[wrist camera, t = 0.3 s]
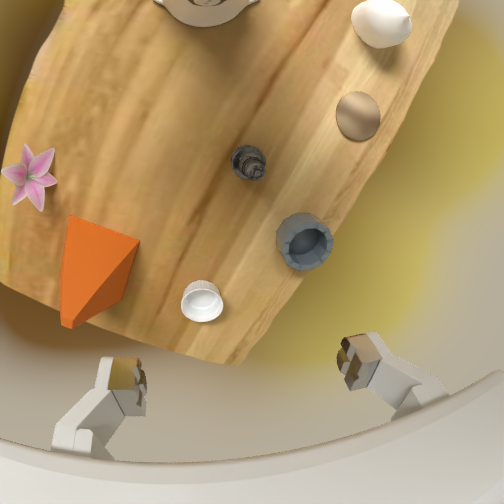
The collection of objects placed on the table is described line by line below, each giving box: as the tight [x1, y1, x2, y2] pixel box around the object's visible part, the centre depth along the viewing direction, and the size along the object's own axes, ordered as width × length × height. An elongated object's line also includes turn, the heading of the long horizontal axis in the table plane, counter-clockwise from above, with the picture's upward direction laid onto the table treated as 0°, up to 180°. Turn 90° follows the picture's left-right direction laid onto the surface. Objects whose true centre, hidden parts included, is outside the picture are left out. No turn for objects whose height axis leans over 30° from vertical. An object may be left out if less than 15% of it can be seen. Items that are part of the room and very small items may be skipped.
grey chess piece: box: [231, 145, 266, 181], centre depth 47 cm, size 6×6×12 cm
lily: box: [1, 144, 57, 212], centre depth 42 cm, size 12×12×10 cm
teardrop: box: [351, 0, 412, 49], centre depth 37 cm, size 11×11×12 cm
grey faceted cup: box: [276, 213, 333, 271], centre depth 60 cm, size 10×10×5 cm
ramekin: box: [181, 280, 223, 322], centre depth 63 cm, size 9×9×4 cm
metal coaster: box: [336, 92, 380, 140], centre depth 51 cm, size 10×10×1 cm
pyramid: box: [60, 215, 140, 329], centre depth 48 cm, size 16×16×20 cm
